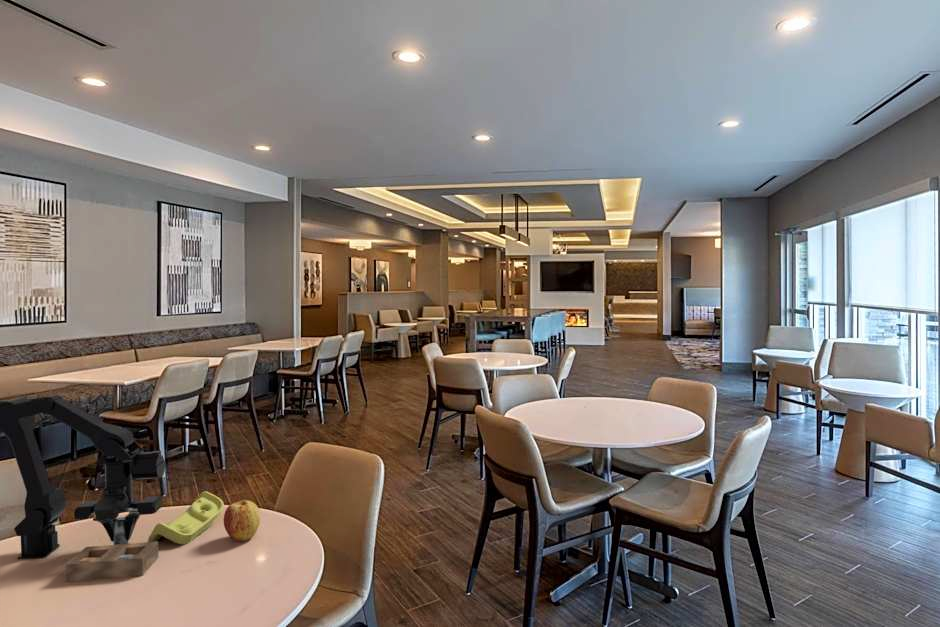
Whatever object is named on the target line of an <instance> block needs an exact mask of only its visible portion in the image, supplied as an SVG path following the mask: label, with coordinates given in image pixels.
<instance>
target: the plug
mask: <svg viewBox="0 0 940 627" xmlns="http://www.w3.org/2000/svg"><path fill="white" fill-rule="evenodd" d="M125 517H126V516H120V517H119V516H118V517H117V518H116V519H114V520H113V545H118V544H129V540H127V539H126V523H127V522H126V520H125Z"/></svg>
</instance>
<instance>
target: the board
mask: <svg viewBox="0 0 940 627" xmlns="http://www.w3.org/2000/svg"><path fill="white" fill-rule="evenodd" d="M157 559H159V541H157V540H156V541H154V542H150V541H146V542H144V541H143V542H133V543H132V542H131V543H128V544H118V545H114V544H108V545H107V544H106V545H95V546H85V548H83V549H82V550H80V552H78V553H77V554H76V555H75V556H74V557H73V558H71V559H70V560H69V561H68V562H66V564H64V565H65V567H64V568H65V569H64V570H65V583H72V582H82V581H84V582H85V581H95V580H96V581H97V580H105V579H106V580H108V579H119V578H130V577H140V576H141V577H142V576H144V575H145V573H146V572H148V570H149V569H150V568H151V567H152V566H153V564H154V563H155V562H156V561H157Z"/></svg>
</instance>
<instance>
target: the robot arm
mask: <svg viewBox="0 0 940 627" xmlns="http://www.w3.org/2000/svg"><path fill="white" fill-rule="evenodd" d="M43 413H45V414H47V415H49V416H51V417H52V418H54V419H56V421H57V420H58V421H59V422H61V423H63V425H65V426H68V427H69V428H71V429H73V430H74V431H76V432H78V433H80V434H82V435H83V436H85V437H87V438H88V440H90V441H91V443H92V444H93V446H94V448H96V449H97V450H98V451H100V452H101V453H102V454H101V457H100V458H99V459H98V460H97V461H96V462H95V463H94V465H95V466H103V465H104V477H105V478H104V479H105V481H104V482H105V483H104V484H105V486H104V487H103V488H102V496H101V498H100V499H95V500H85V501H84V502H83V503H81V504H80V505H78V506H77V507H76V508H75V510H74V512H73V514H74V519H75V520H85V519H89V518H90V517H91V515H92V514H93V517H94V518H92V521H94V522H98V523H100V524H101V526H103V528H104V530H105V532H106V534H107V535H108V537H109V539H110V541H111V542H112V543H114V541H113V520H114V519H116V518H119V515H120V513H125V512H127V511H128V514H127V515H126V516H124V517H125V520H126V522H127V523H126V539H127V540H128V541H129V540H131V537H132V535H133V532H134V530H135V528H136V524H137V521H138V520H139V518H140V516H141V515H142V516H143V515H145V516H146V515H154V514H156V513H157V512H158V511H159V510H160V509H162V507H163V506H164V500H163V498H162V497H161V496H160V495H156V496H144V498H143V499H142V500H140V501H134V500H135V497H136V496H135V494H134V495H133V485H135V480H147V479H161V478H162V477H163V476H164V474H165V470H166V460H165V458H164V456H163V455H162V450H154V451H144V449H143V447H142V446H140V444H139V443H138V442H137V441H136V439H135V438H134V434H133V432H132V431H131V430H129V429H126V428H124V427H122V426H119V425H116V424H111V423H107V422H103V421H101V420H99V419H98V418H96V417H95V416H93V415H91V414H89V413H88V412H86V411H85V410H82V409H81V408H79V407H78V406H76V405H74V404H72V403H71V402H69V401H67V399H66V400H65V399H64V398H63V397H62V396H61V395H58V394H54V393H53V394H50V395H46V396H42V397H41V396H40V397H35V398H29V399H28V398H27V397H24V396H23V397H22V396H21V397H20V396H19V397H14V398H10V399H7V400H4V401H0V432H1V433H2V434H4V435H5V436H6V437H7V438H8V440H9V442H10V446H11V449H12V452H13V455H14V458H15V461H16V464H17V467H18V469H19V472H20V477H21V479H22V481H23V485H24V488H25V491H26V495H25V500H24V505H23V506H24V507H23V509H24V516H25V517H24V518H23V519H22V520H21V521H20V522H19V523H18V524H17V525H15V527H14V528H13V529H14V532H15V534H16V536H17V537H20V552H21V553H20V554H19V555H18V556H17V557H16V558H17V560H25V559H26V560H27V559H36V558H37V559H39V558H45V557H47V556H49V555H50V554H51V553H53V552H54V551H56V550H57V549H58V548H60V545H61V544H60V543H59V540H58V539H59V538H58V530H56V525H55V523H57V522H58V521H59V518H60V516H61V515H62V514H63V513H64V512H65V510H66V507H67V505H66V503H67V502H68V499H67V498H66V496H65V491H64V488H63V486H59V487H58V488H56V487H55V486H54V485H52V483H51V482H50V480H49V476H48V473H47V470H46V466H45V463H44V460H43V458H42V454H41V452H40V449H39V445H38V442H37V440H36V439H37V438H36V436H35V433H34V432H35V431H34V428H35V427H34V426H35V422H36V415H39V414H43ZM133 478H134V479H135V480H134V479H133Z"/></svg>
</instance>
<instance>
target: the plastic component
mask: <svg viewBox="0 0 940 627" xmlns="http://www.w3.org/2000/svg"><path fill="white" fill-rule="evenodd" d="M224 507H225V504H224V501H223V500H222V499H221V498H220V497H218V496H217V495H215V494H214V493H211V492H208V491H207V490H205V491H202V492H201V493H200V494H199V495H198V496H197V497H196V498H195V500H194V501H193V503H192V504H190V506H189V507H188V508H187V509H186V510H185V511H184V512H183V513H182V514H180V515H178V516H177V517H176V518H175V519H173V520H171V522H169V523H168V524H165V523H164V522H159V523H157V524H156V525H155V526H154V528H153V530H152V531H151V533H150V534H149V536H148V539H147V542H155V541H157V540H159V539H160V538H161V537H164V538H166V539H168V540H169V541H171V542H173V543H175V544H177V545H187V544H189V543H190V542H192V541H193V540H195V538H197V537H198V536H199V535H201V534H202V533H203V532H204V531H205V530H207V529H208V528H209V527H211V525H212V523H213V521H214V520H215V519H217V518H218V517H219V516H220V514H221V512H222V511H223V510H224Z"/></svg>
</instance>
